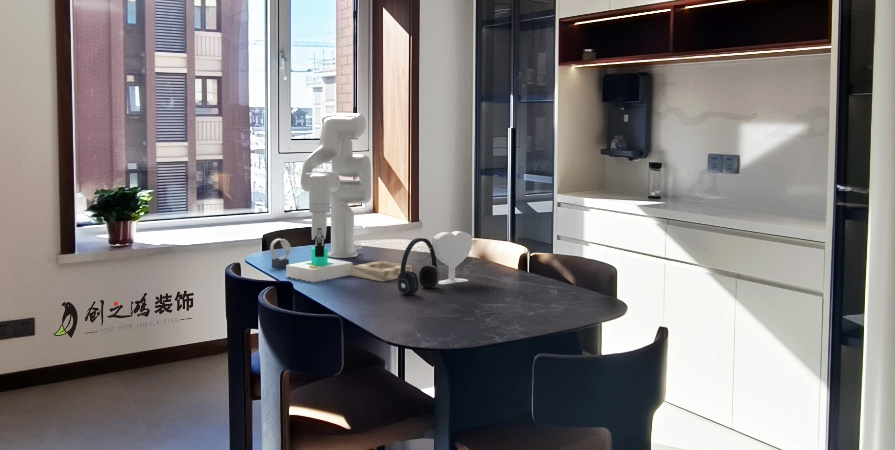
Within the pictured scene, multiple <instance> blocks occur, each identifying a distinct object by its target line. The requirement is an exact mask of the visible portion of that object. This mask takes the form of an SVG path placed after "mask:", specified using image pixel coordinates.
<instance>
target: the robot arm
mask: <svg viewBox="0 0 895 450" xmlns="http://www.w3.org/2000/svg"><path fill="white" fill-rule="evenodd" d="M321 124H322V127H321V130H320V131H321V132H320V137H319V143H318V148H317V149H315V150H314V151H313V152H312V153H310V155H309V156H308V157H307V158H306V160H305V161H304V162H303V165H302V171H301V175H300V187H301V188H302V190H303V191H305V192H308V193H309V194H308V197H309V198H308V201H309V203H308V206H309V207H308V212H309V213H310V214H311V240H315V245H314V247H315V257H324V247H325V239H326V237H327V236H326V235H327V225H328V224H327V223H328V219H327V217H328V216H327V215H328V213H329V214H330V251H328V257H330V258H333V259H335V258H336V259H349V258H355V257H358V255H359V254H358V252H357V250H361V249H362V245H361V244H356V243H355V214H354V210H353V209H352V208H351V206H350V205H349V204H359V205H360V204H368V203H369V202H370V201H371V200H372V199H371V198H372V164H371V160H370V157H369V156H368V155H366V154H364V153H362V154H361V153H353V152H354V151H353V142H352V141H353V140H355V139H359V138H360V137H361V136H362V135H363V134H364V132H365V131H366V125H367V121H366V118H365V116H364V115H363V114H362V113H355V112H354V113H352V112H350V113H349V112H346V113H345V112H330V113H325V114H323V116H322V118H321ZM330 161H331V171H314V169H316V168H317V167H318V166H320V165H322V164H325V163H327V162H330ZM341 178H358V179H359V180H356V179H355V180H354V179H353V180H352V179H341Z"/></svg>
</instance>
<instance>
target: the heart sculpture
mask: <svg viewBox="0 0 895 450" xmlns="http://www.w3.org/2000/svg"><path fill="white" fill-rule="evenodd" d="M431 244H432V246H433V248H434V251H435V256H436V259H437V260H439V261H440V262H441V263H443V264H445V265H446V266H447V267H448V278H447V279H444V280H439V282H438V285H449V284H456V283H462V282H469V280H468V279H466V278H457V277H456V268H457V267H458V266H459V265H460V264H461V263H463V261H464V260H465V259H466V258H467V257H468V256H469V254H470V252H471V250H472V245H473V236H472V235H471V234H470V233H468V232H464V231H460V230H453V231H452V232H447V231H441V232H439V233H437V234H435V235H434V236H433V237H432V242H431Z"/></svg>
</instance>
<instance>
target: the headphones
mask: <svg viewBox="0 0 895 450" xmlns="http://www.w3.org/2000/svg"><path fill="white" fill-rule="evenodd" d="M420 242H423V243H425V245H426V246H427V248H428V249H429V253H430V257H431V264H430V265H429V264H428V265H424V266H422V267H421V268H420V271H419V275H417V274H416V272H413V271H412V272H411V271H405V269H406V265H407V261H408V258H409V255H410V253H411V251H412V249H413V247H414V246H415V245H416V244H417V243H420ZM400 264H401V270H400V274H399V276H398V278H397V288H398V292H400V293H401V294H403V295H405V296H412V295H415V294H416V293H418V292H417V291H419V285H420V286H421V287H423V288H426V289H434V288H436V287H437V286H438V285H439V284H438V282H439V281H440V271H439V269H438V264H437V257H436V256H435V251H434V248H433V246H432V242H431V241H430V240H429V239H428V238H423V237H418V238H417V237H416V238H414V239H412V240H411V241H410V242H409V243H408V244H407V246H406V248H405V250H404V253H403V255H402V259H401V263H400Z"/></svg>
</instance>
